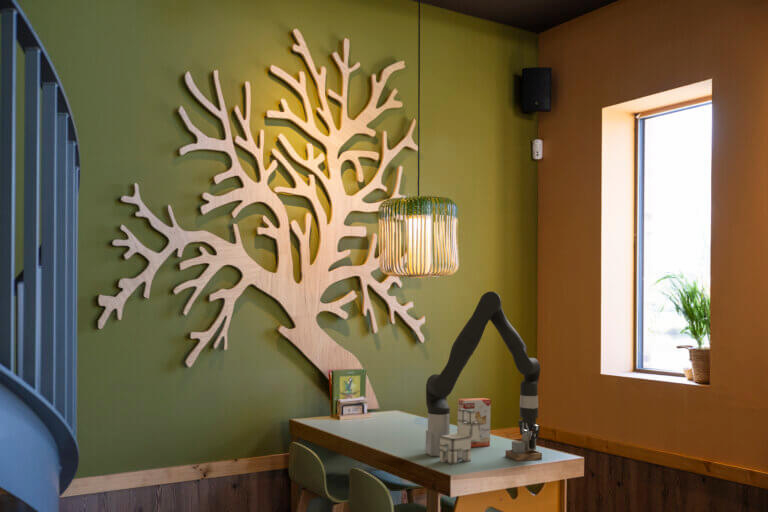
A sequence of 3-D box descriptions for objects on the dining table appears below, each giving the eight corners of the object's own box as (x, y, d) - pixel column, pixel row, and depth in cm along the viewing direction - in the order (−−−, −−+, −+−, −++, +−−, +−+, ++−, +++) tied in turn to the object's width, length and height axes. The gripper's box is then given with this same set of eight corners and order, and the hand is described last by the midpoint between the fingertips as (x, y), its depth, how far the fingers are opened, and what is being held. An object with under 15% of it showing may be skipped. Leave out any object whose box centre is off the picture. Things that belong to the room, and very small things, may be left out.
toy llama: (435, 461, 294) (435, 411, 295) (466, 456, 305) (466, 408, 306) (447, 465, 288) (448, 414, 289) (479, 459, 299) (479, 410, 300)
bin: (515, 461, 297) (515, 454, 298) (505, 456, 306) (505, 450, 306) (541, 459, 301) (541, 453, 301) (530, 454, 310) (530, 448, 310)
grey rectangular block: (516, 457, 300) (516, 443, 301) (511, 455, 304) (511, 441, 304) (525, 457, 302) (525, 442, 302) (520, 455, 305) (520, 440, 306)
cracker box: (462, 448, 321) (463, 400, 322) (456, 445, 326) (457, 398, 327) (490, 446, 326) (491, 399, 327) (484, 443, 331) (484, 397, 333)
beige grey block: (528, 450, 302) (528, 435, 302) (522, 448, 306) (522, 434, 306) (535, 449, 304) (535, 435, 304) (529, 447, 307) (529, 433, 308)
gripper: (512, 403, 311) (512, 444, 310) (529, 409, 298) (529, 451, 297) (528, 403, 314) (528, 443, 313) (545, 408, 300) (545, 450, 299)
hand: (529, 447), depth 305 cm, fingers closed on beige grey block, 4 cm apart
